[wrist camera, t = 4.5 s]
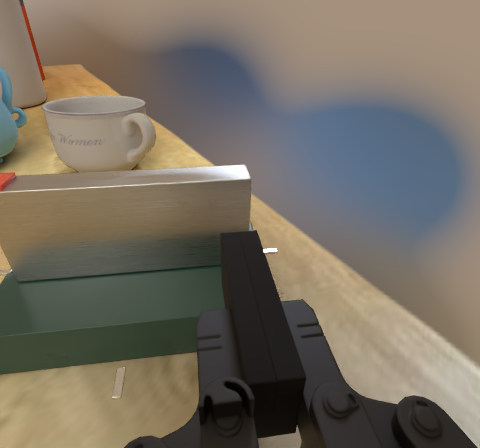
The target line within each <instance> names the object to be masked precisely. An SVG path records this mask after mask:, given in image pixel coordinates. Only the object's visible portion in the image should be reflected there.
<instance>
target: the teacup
mask: <svg viewBox="0 0 480 448" xmlns="http://www.w3.org/2000/svg"><path fill="white" fill-rule="evenodd" d="M145 106H146V104H145V102H144V101H143V100H141V99H138V98H133V97H127V96H107V95H100V96H80V97H69V98H63V99H58V100H54V101H50V102H47V103H45V104H44V105H43V106H42V110H43V111H44V113H45V116H46V120H47V124H48V128H49V132H50V135H51V139H52V142H53V145H54V148H55V151H56V153H57V155H58V157H59V158H60V160H61V161H62V162H63V163H64V164H66V165H67V166H69V167H71V168H73V169H75V170H76V171H78V172H79V173H85V172H106V171H127V170H132V169H133V168H134V167H135V166H136V165H137V163H138V162H140V161H141V160H142V159H143V157H144V156H145V154H146V153H147V152H149V151H150V150H151V149H152V147H153V146H154V144H155V139H156V134H155V129H154V126H153V124H152V122H151V120H150V119H149V118H148V117H147V116H146V114H145Z"/></svg>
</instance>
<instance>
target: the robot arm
mask: <svg viewBox="0 0 480 448" xmlns="http://www.w3.org/2000/svg"><path fill="white" fill-rule="evenodd" d="M220 241H221V281H222V290H223V296H224V303H225V308H223V309H214V310H204V311H201V313H200V315H199V318H198V320H197V322H196V337H197V358H198V379H199V404H198V407H197V410H196V412H195V413H194V415H193V417H192V418H191V419H190V420H189V421H188V422H187V423H186V424H185V425H184V426H182V427H181V428H179V429H178V430H176V431H174V432H172V433H170V434H168V435H166V436H165V437H163V438H161V439H159V438H157V437H154V436H144V437H139V438H137V439H135V440H133V441H131V442H129V443H128V444H127V445H126V446H125V447H124V448H259V445H258V439H257V438H264V437H270V436H277V435H283V434H289V433H295V432H296V427H297V425H298V429H299V432H300V436H301V439H302V443H301V447H300V448H477V446H476V445H475V444H474V443H473V442H472V441H471V440H470V439H469V438H468V437H467V435H466V434H465V433H464V432H463V431H462V430H461V429H460V428H459V427H458V425H457V424H456V423H455V422H454V421H453V420H452V419H451V418H450V417H449V415H448V414H447V413H446V412H445V411H444V410H443V409H441V408H440V407H439V406H438V405H437V404H436V403H434V402H432V401H430V400H428V399H426V398H424V397H419V396H409V397H405V398H404V399H402V400H401V401H400V402H399V403H398V404H393V403H388V402H383V401H377V400H373V399H369V398H366V397H364V396H362V395H360V394H358V393H357V392H356V391H354V390H353V389H352V388H351V387H350V386H349V385H348V384H347V383H346V382H345V380H344V378H343V376H342V374H341V372H340V370H339V368H338V365H337V363H336V361H335V358H334V356H333V354H332V352H331V349H330V347H329V345H328V342H327V340H326V338H325V336H324V333H323V331H322V329H321V326H320V325H319V322H318V319H317V317H316V315H315V313H314V310H313V309H312V308H311V307H310V306H309V305H308V304H307V303H306V302H305V301H304V300H303V299H302V300H293V301H283V302H281V301H280V298H279V295H278V292H277V289H276V286H275V283H274V280H273V277H272V274H271V271H270V268H269V265H268V262H267V259H266V256H265V253H264V250H263V248H262V245H261V242H260V239H259V236H258V233H257V230H255V231H242V232H228V233H220Z"/></svg>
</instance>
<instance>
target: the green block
mask: <svg viewBox="0 0 480 448" xmlns="http://www.w3.org/2000/svg"><path fill="white" fill-rule="evenodd" d="M250 231H254V230H253V227H252V224H251V221H250ZM263 250H264V253H265V254H273V253H277V249H276V248H274V249H263ZM3 275H6V276H5V278H4V280H3V281H2V283H1V284H0V374H7V373H16V372H24V371H33V370H42V369H50V368H59V367H68V366H76V365H85V364H93V363H102V362H111V361H119V360H128V359H137V358H145V357H154V356H163V355H171V354H180V353H188V352H197V337H196V322H197V320H198V318H199V315H200V313H201V311H204V310H214V309H223V308H225V303H224V296H223V290H222V281H221V265H212V266H200V267H188V268H177V269H165V270H153V271H141V272H129V273H117V274H105V275H94V276H82V277H70V278H58V279H46V280H34V281H22V282H18V281H17V279H16V277H15V275H14V273H13V271H12V268H11V269H10V270H0V276H3ZM125 372H126V368H125V367H122V368H117V373H116V378H115V384H114V389H113V395H112V399H121V397H122V391H123V385H124V378H125Z"/></svg>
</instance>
